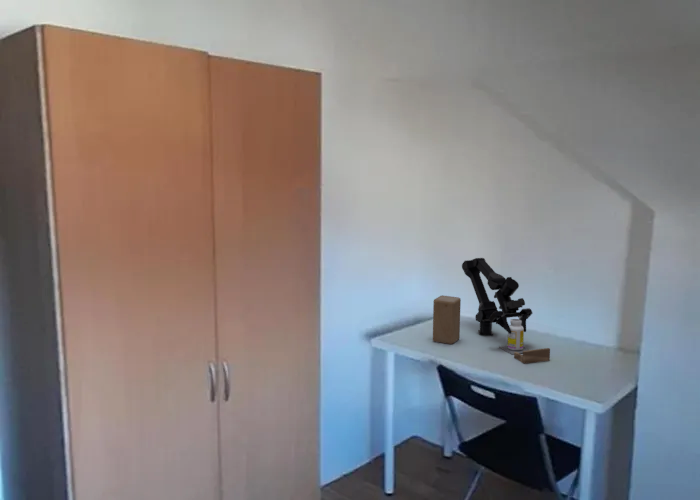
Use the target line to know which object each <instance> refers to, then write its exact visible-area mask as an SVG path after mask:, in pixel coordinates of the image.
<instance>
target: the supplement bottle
mask: <svg viewBox="0 0 700 500" xmlns="http://www.w3.org/2000/svg"><path fill="white" fill-rule="evenodd" d="M521 323H522V321H521V320H519V318H513V319H512V318H511V319H510V325H509V327H510V330H511V334H509V333H508V332H507V346H508V348H509V349H510V350H515V351H518V350H522V349H523V347H524V335H525V334H524V333H525V332H524V328H523V326H521Z"/></svg>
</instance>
